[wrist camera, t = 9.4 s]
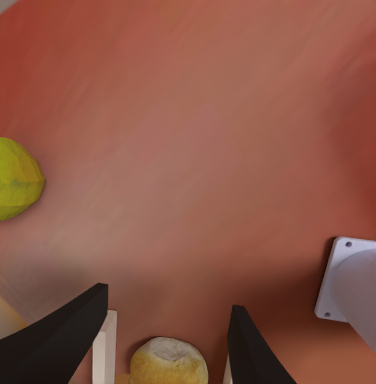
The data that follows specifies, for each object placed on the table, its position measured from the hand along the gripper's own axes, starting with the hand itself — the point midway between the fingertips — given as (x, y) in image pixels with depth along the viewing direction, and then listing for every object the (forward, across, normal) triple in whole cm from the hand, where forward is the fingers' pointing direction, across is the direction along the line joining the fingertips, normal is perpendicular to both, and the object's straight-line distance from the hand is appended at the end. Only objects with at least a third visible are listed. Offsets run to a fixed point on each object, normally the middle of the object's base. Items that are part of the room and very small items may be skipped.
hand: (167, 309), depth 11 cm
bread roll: (+8, 0, +15) cm, 17 cm away
